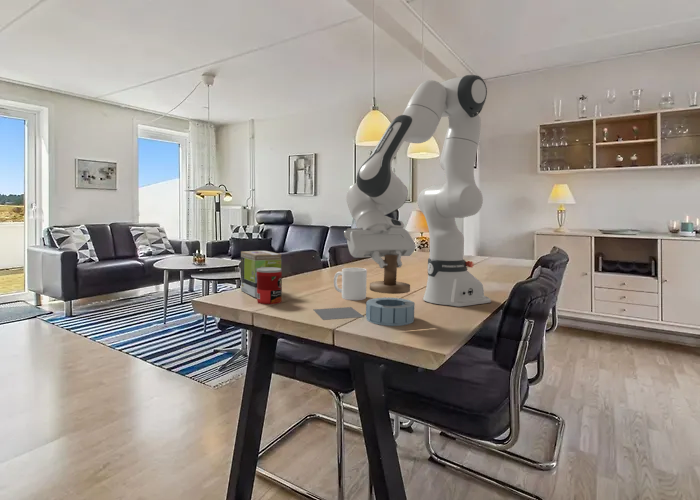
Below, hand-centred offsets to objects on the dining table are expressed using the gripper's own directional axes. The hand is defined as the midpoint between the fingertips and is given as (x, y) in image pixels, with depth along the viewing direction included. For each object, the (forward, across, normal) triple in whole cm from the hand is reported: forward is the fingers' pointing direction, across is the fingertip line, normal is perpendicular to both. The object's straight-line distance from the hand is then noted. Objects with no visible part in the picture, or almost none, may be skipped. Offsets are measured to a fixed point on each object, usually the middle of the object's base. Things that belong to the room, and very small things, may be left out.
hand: (391, 266), depth 113 cm
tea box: (-25, -21, +47) cm, 57 cm away
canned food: (-14, -23, +36) cm, 45 cm away
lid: (+4, 0, +5) cm, 6 cm away
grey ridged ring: (+10, 0, +11) cm, 15 cm away
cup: (-11, +4, +32) cm, 34 cm away
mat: (+2, -10, +20) cm, 22 cm away
